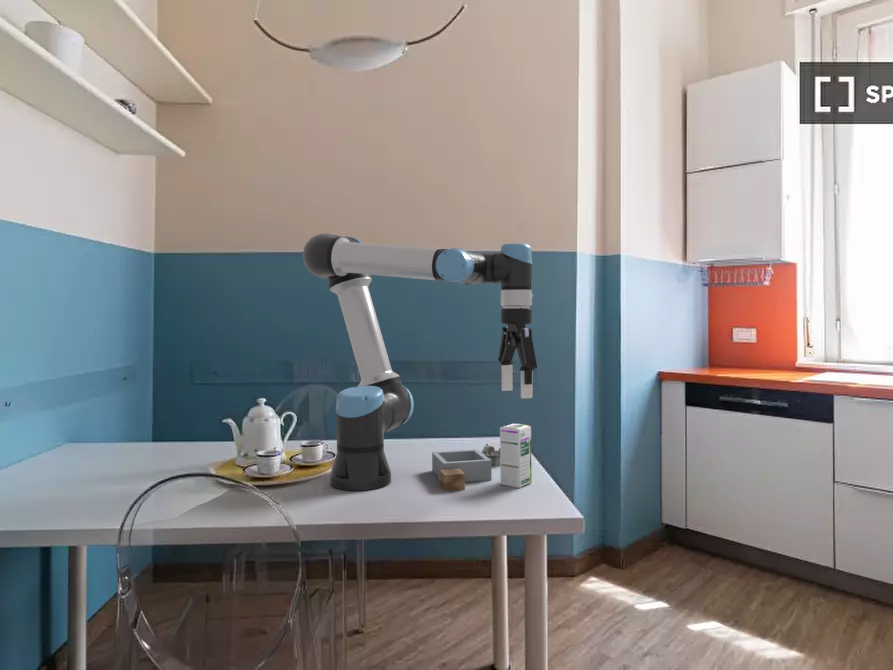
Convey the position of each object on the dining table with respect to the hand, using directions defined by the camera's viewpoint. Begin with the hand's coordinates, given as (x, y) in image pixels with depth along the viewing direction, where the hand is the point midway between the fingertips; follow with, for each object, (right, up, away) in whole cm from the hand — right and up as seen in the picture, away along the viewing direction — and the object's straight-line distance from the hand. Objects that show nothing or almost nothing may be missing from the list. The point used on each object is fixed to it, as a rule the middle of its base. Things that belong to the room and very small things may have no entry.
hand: (516, 394), depth 156 cm
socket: (-13, -22, +9) cm, 27 cm away
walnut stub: (-16, -23, -2) cm, 28 cm away
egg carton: (-3, -22, +24) cm, 32 cm away
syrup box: (0, -22, +1) cm, 23 cm away
